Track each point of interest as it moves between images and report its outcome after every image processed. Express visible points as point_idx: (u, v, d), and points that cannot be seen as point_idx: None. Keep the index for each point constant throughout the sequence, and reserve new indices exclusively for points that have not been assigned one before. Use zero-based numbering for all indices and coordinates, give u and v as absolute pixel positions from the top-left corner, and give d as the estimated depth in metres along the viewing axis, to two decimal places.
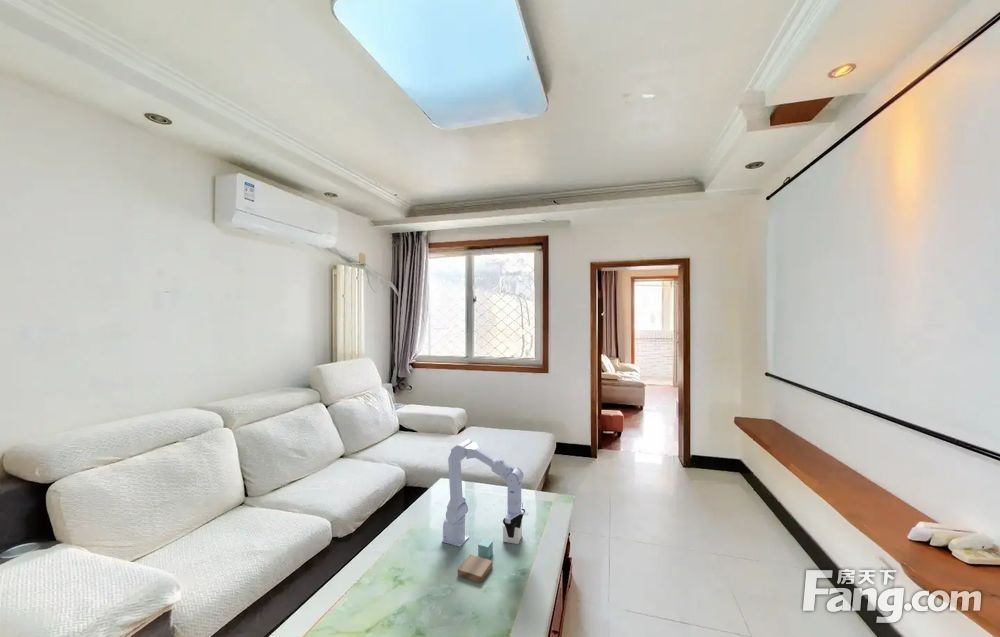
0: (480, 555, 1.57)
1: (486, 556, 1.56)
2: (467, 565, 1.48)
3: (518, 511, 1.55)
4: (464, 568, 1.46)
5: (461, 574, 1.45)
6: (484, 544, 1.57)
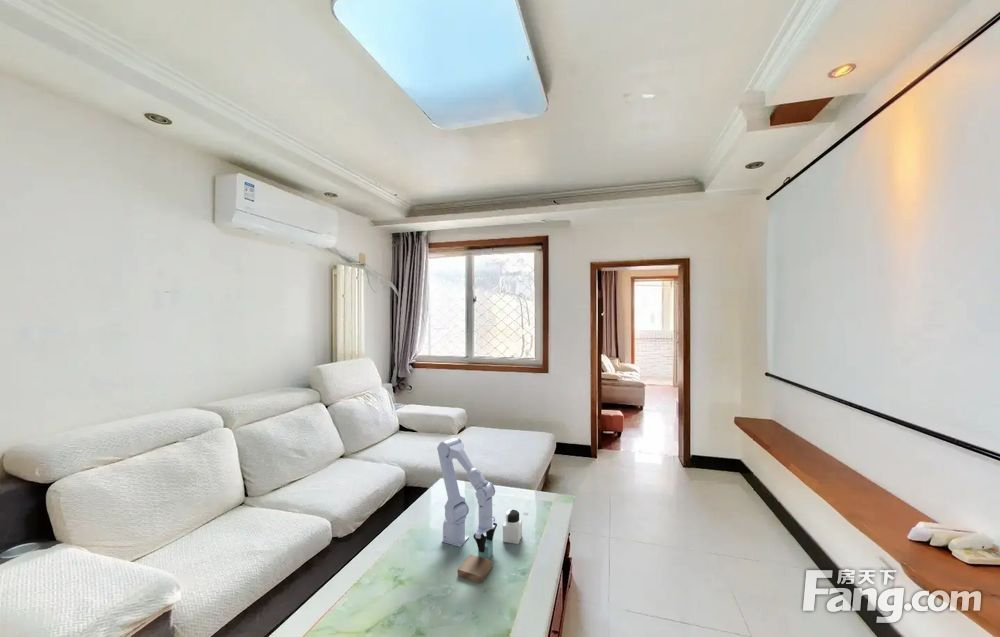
0: (480, 555, 1.57)
1: (486, 556, 1.56)
2: (467, 565, 1.48)
3: (489, 526, 1.56)
4: (464, 568, 1.46)
5: (461, 574, 1.45)
6: None
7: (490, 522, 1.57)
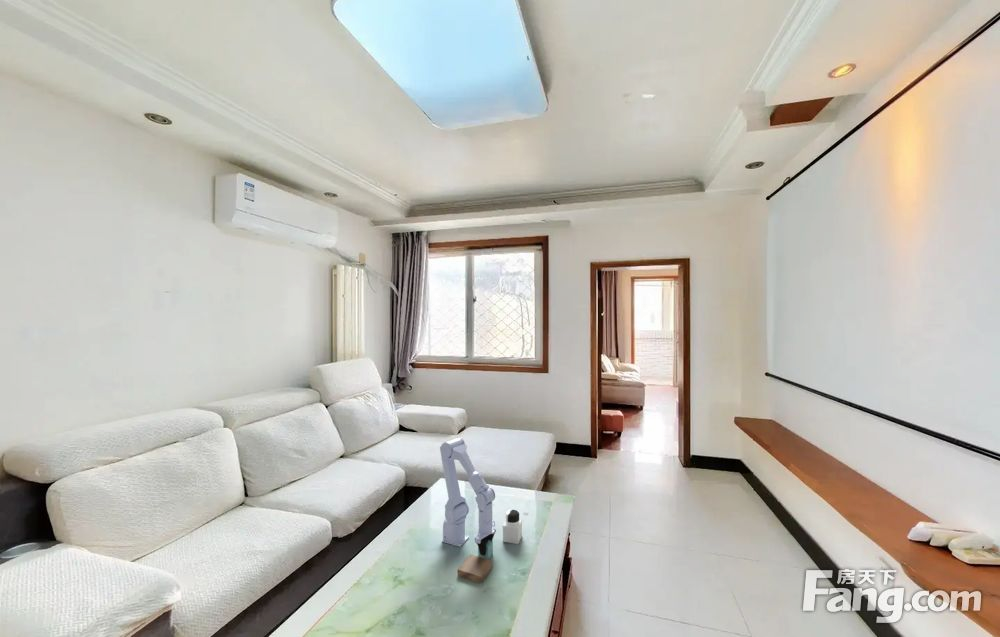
0: (480, 555, 1.57)
1: (486, 556, 1.56)
2: (467, 565, 1.48)
3: (489, 530, 1.56)
4: (464, 568, 1.46)
5: (461, 574, 1.45)
6: None
7: (490, 527, 1.57)
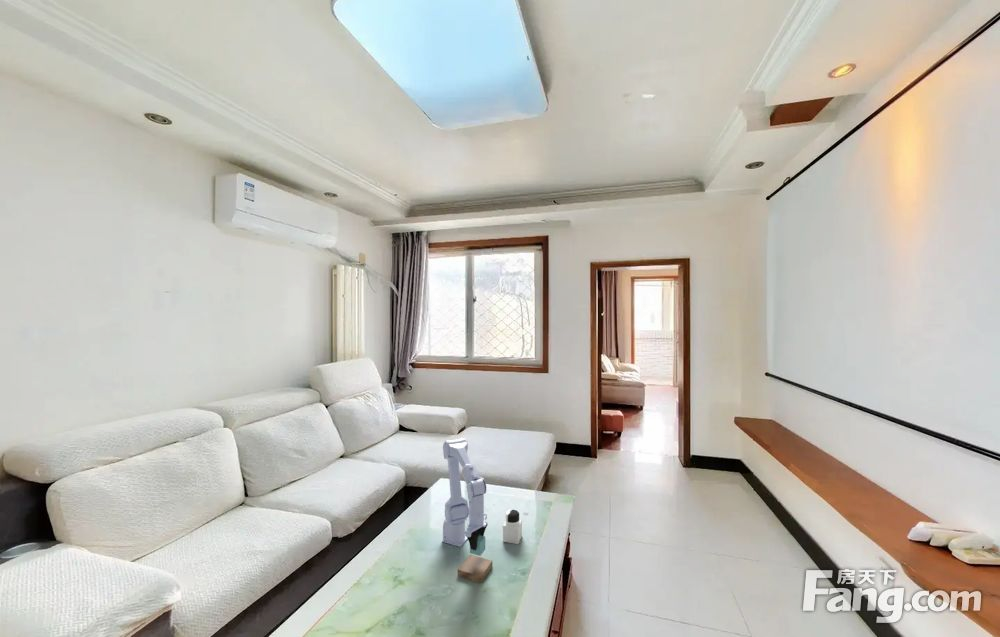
0: (472, 551, 1.47)
1: (478, 552, 1.46)
2: (467, 565, 1.48)
3: (480, 523, 1.47)
4: (464, 568, 1.46)
5: (461, 574, 1.45)
6: None
7: (481, 519, 1.47)
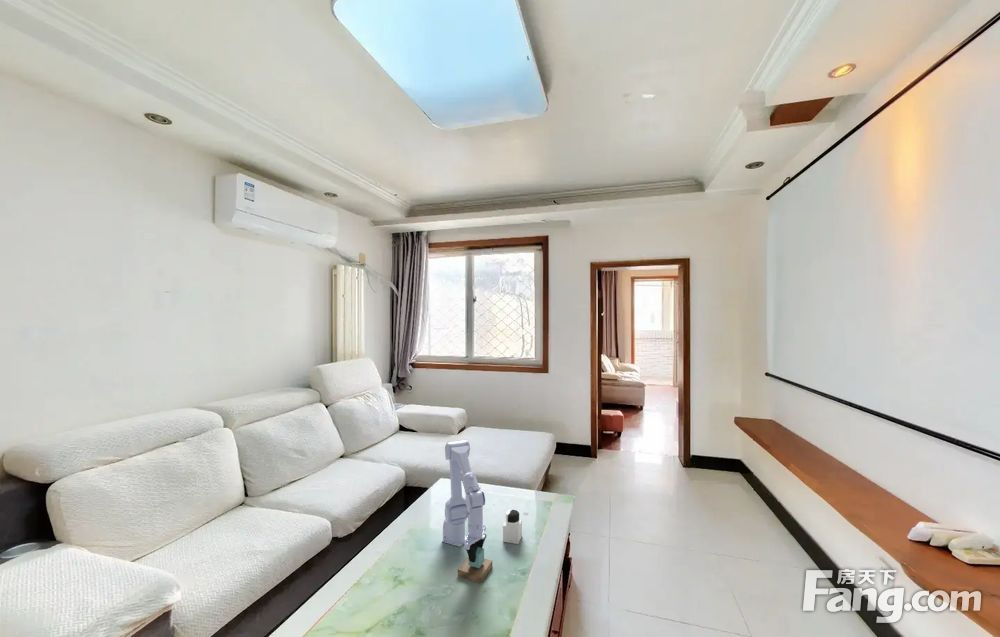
0: (470, 564, 1.46)
1: (477, 565, 1.45)
2: (467, 565, 1.48)
3: (479, 536, 1.46)
4: (464, 568, 1.46)
5: (461, 574, 1.45)
6: None
7: (480, 532, 1.46)
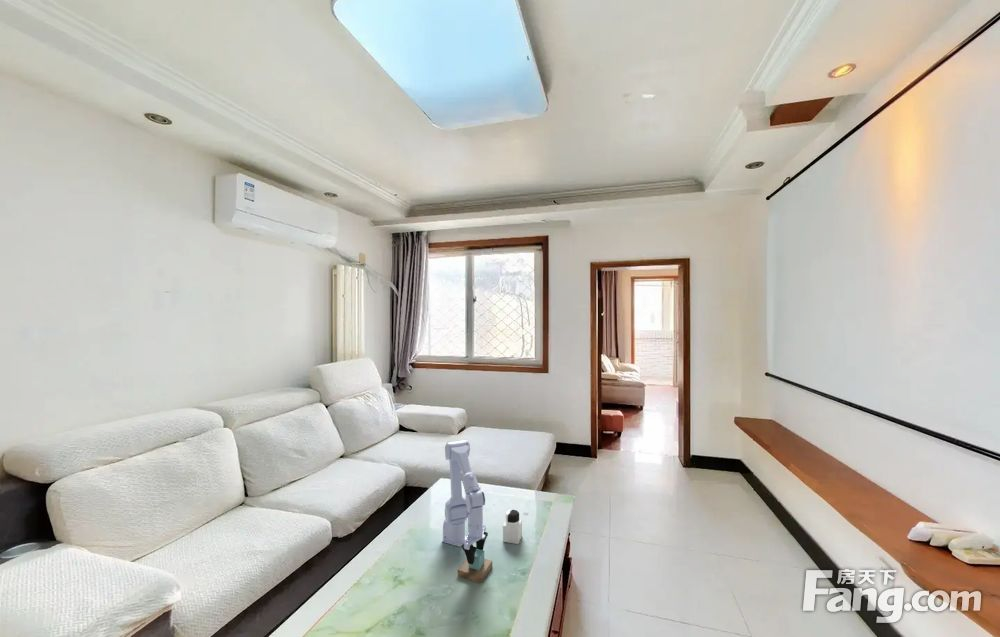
0: (471, 566, 1.46)
1: (477, 567, 1.45)
2: (467, 565, 1.48)
3: (479, 536, 1.46)
4: (464, 568, 1.46)
5: (461, 574, 1.45)
6: (475, 554, 1.47)
7: (480, 532, 1.46)
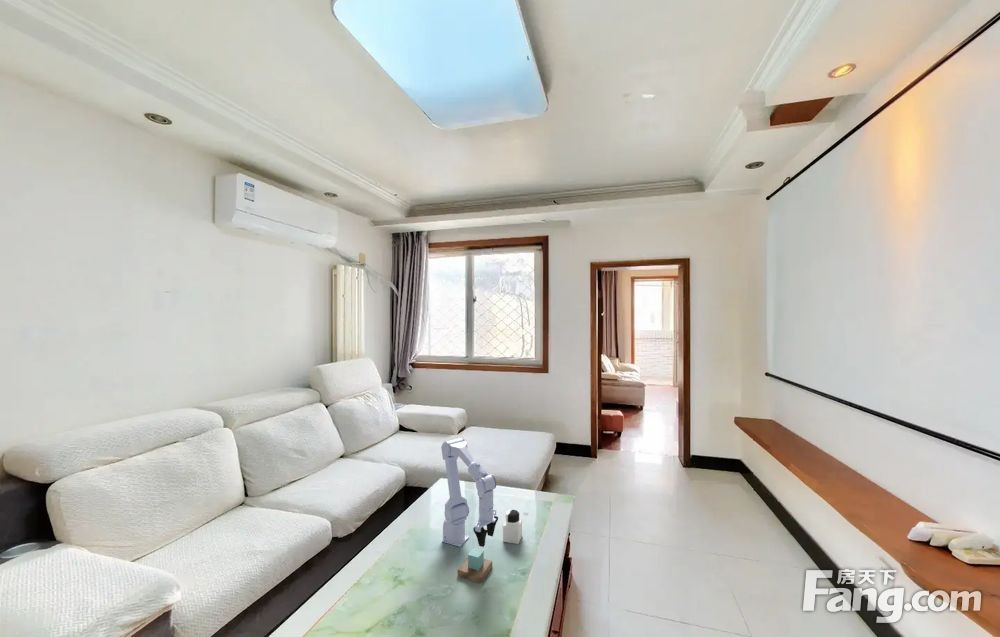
0: (470, 566, 1.46)
1: (476, 567, 1.45)
2: (467, 565, 1.48)
3: (489, 519, 1.49)
4: (464, 568, 1.46)
5: (461, 574, 1.45)
6: (474, 554, 1.47)
7: (491, 515, 1.50)
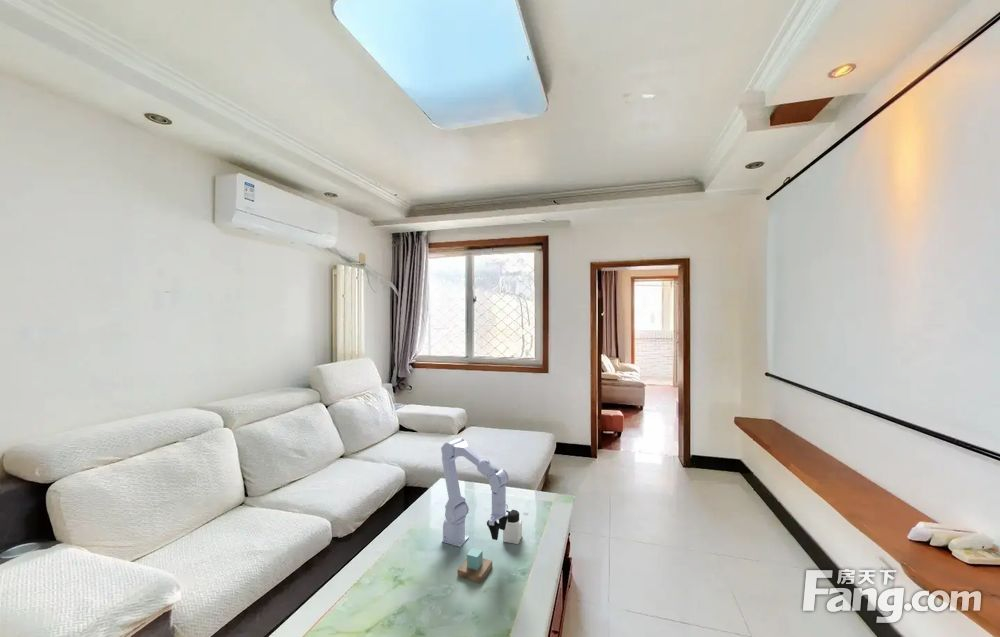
0: (469, 566, 1.46)
1: (475, 567, 1.45)
2: None
3: (502, 513, 1.54)
4: (464, 569, 1.46)
5: (461, 574, 1.45)
6: (473, 554, 1.47)
7: (503, 509, 1.54)
